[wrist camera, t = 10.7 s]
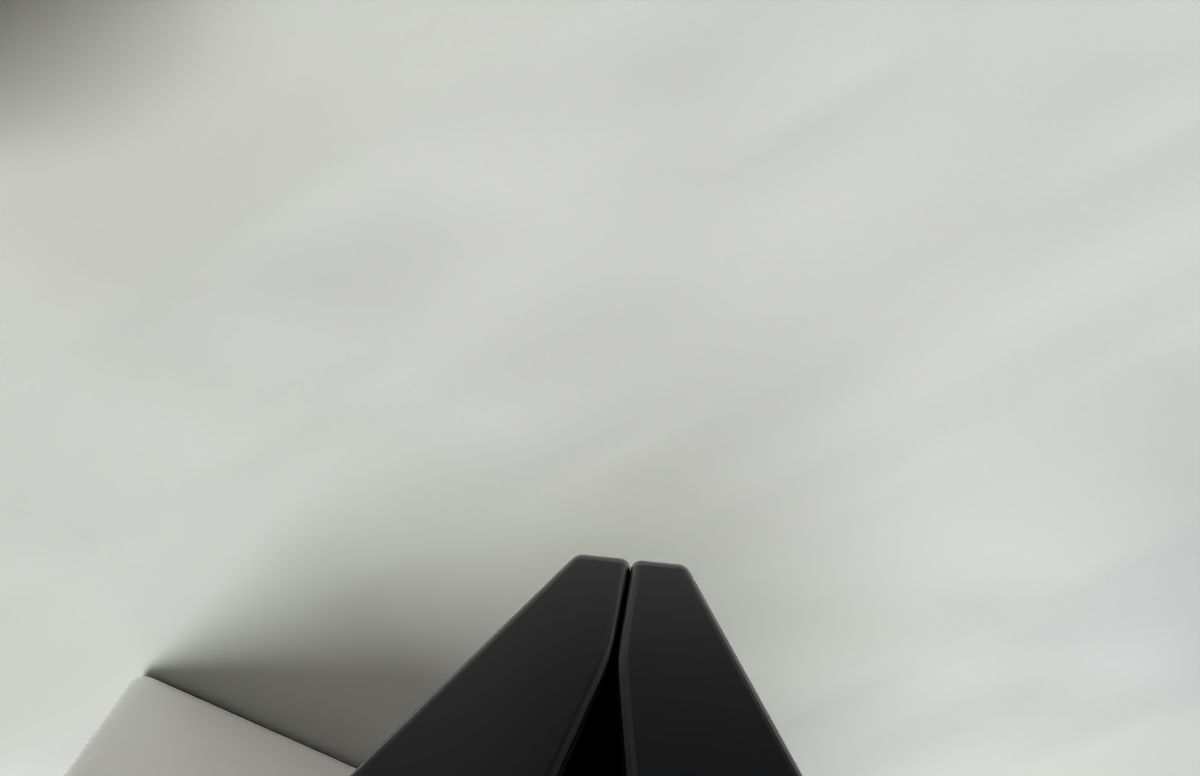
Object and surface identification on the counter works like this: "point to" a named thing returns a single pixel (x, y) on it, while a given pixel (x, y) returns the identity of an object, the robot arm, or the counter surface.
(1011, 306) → the counter surface
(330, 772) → the medicine bottle
